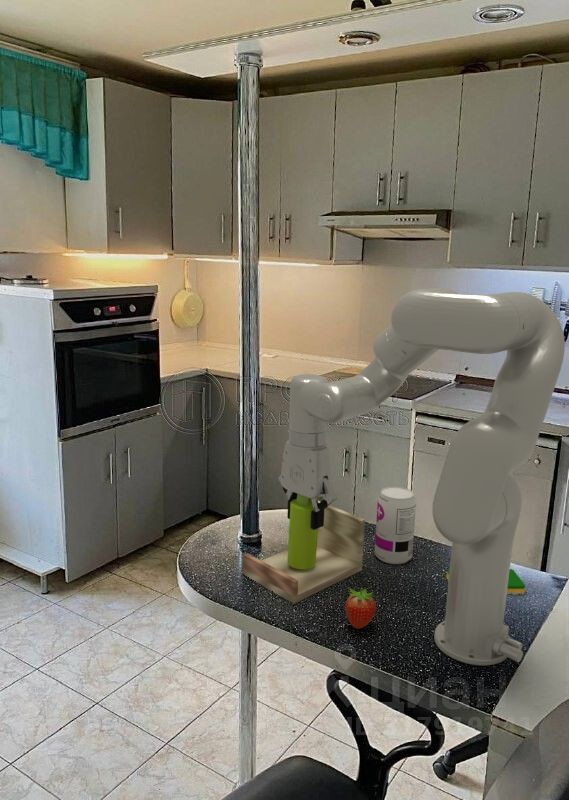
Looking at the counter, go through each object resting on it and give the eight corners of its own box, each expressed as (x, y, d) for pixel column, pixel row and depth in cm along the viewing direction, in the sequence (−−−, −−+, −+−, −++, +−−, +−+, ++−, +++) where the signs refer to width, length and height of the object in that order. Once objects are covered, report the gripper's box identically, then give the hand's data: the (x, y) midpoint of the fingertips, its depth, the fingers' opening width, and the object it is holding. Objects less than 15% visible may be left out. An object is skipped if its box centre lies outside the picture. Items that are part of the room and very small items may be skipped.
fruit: (358, 617, 121) (360, 577, 119) (379, 629, 117) (382, 589, 116) (337, 627, 118) (339, 586, 116) (359, 640, 114) (361, 599, 112)
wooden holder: (361, 570, 139) (364, 519, 136) (293, 603, 125) (295, 548, 122) (310, 545, 149) (312, 498, 146) (242, 574, 136) (243, 522, 133)
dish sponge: (524, 597, 131) (526, 586, 130) (455, 596, 130) (456, 585, 130) (511, 579, 137) (513, 568, 137) (445, 578, 137) (446, 567, 136)
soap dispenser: (320, 571, 133) (326, 478, 128) (286, 568, 134) (291, 475, 129) (321, 557, 139) (327, 467, 134) (288, 554, 139) (293, 465, 134)
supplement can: (373, 563, 142) (377, 498, 138) (375, 546, 150) (379, 484, 146) (411, 567, 140) (417, 501, 137) (411, 550, 148) (416, 487, 145)
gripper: (264, 431, 134) (263, 514, 138) (327, 451, 122) (323, 541, 126) (291, 425, 139) (289, 505, 143) (353, 443, 127) (349, 531, 131)
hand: (305, 521), depth 134 cm, fingers closed on soap dispenser, 5 cm apart
